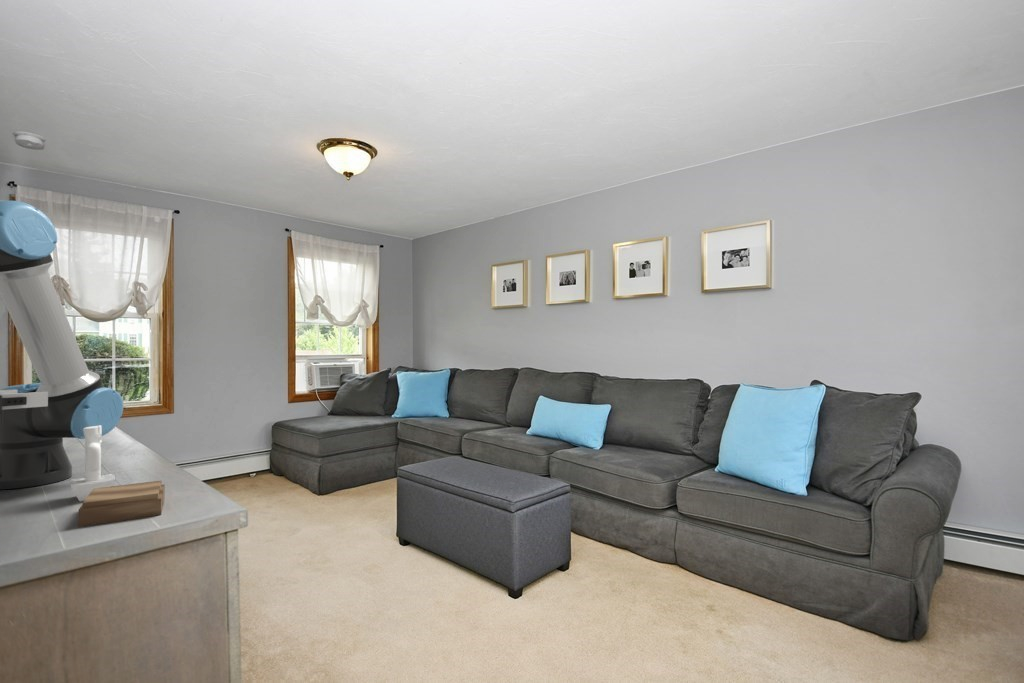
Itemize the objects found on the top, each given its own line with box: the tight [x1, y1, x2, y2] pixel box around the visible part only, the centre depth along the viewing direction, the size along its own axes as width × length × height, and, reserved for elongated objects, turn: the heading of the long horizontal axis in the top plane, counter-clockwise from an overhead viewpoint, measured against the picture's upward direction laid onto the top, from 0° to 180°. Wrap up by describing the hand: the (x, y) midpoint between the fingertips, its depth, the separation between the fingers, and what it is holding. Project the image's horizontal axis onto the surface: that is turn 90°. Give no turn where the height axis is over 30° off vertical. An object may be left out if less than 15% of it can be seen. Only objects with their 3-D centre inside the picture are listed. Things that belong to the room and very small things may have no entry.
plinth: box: [78, 480, 166, 528], centre depth 98 cm, size 12×12×4 cm
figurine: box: [69, 425, 116, 502], centre depth 108 cm, size 7×9×15 cm
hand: (31, 397), depth 100 cm, fingers open, 13 cm apart
